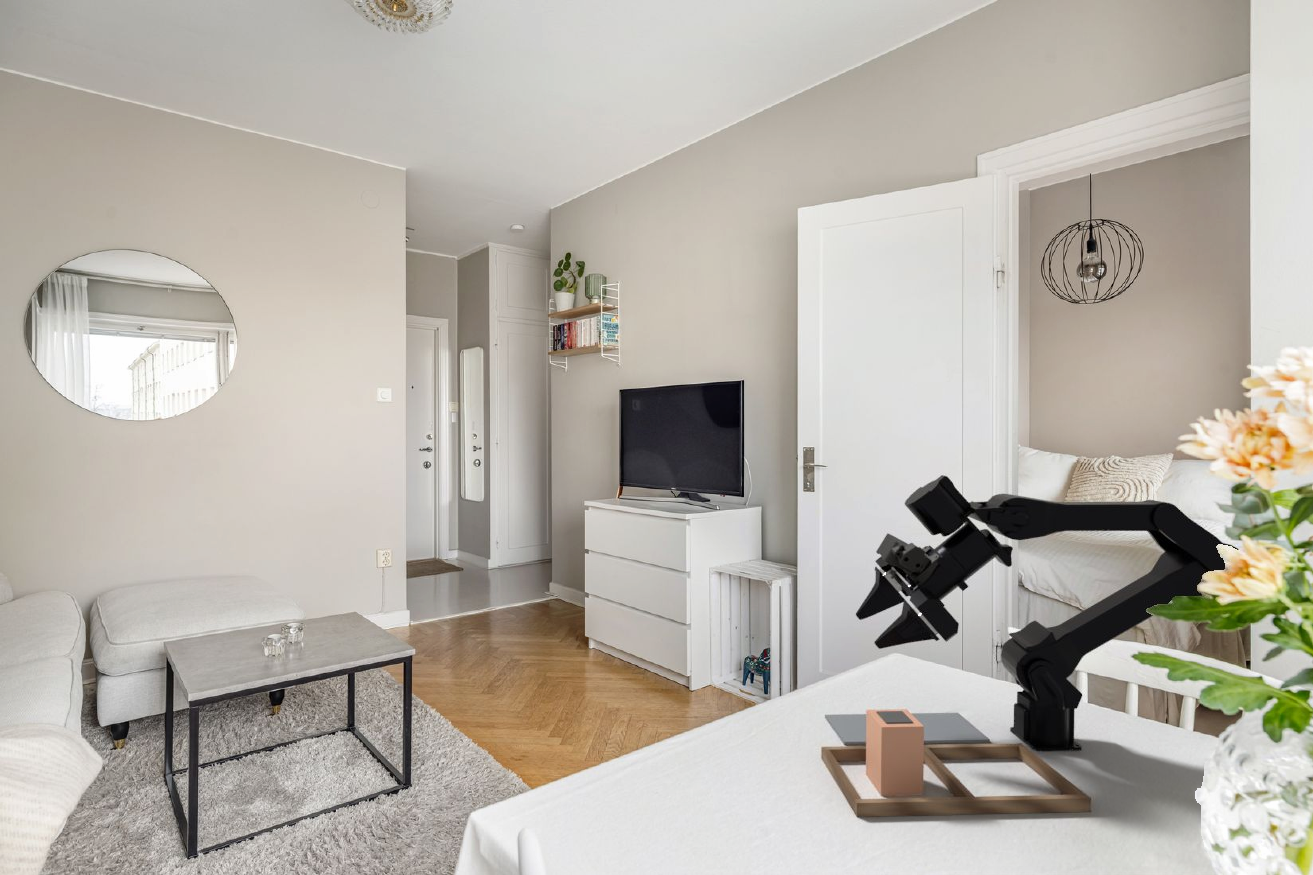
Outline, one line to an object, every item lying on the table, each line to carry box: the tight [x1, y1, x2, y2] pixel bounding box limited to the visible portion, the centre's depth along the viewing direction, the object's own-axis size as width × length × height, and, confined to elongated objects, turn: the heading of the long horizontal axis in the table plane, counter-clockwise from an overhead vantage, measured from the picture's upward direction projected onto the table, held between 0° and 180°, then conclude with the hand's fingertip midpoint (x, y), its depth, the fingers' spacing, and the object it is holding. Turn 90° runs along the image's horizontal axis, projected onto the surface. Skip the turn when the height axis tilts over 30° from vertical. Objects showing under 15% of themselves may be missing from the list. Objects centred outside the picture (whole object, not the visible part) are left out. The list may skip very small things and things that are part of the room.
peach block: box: [865, 708, 925, 797], centre depth 84 cm, size 5×5×8 cm
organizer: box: [820, 742, 1092, 818], centre depth 84 cm, size 26×14×2 cm, turn 93°
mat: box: [824, 712, 991, 746], centre depth 99 cm, size 20×9×1 cm, turn 93°
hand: (866, 630), depth 99 cm, fingers open, 9 cm apart
